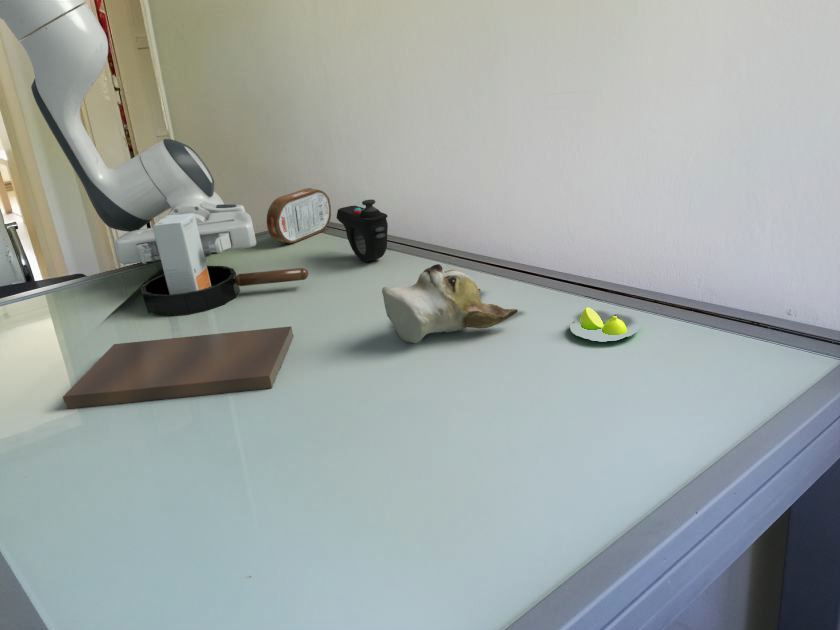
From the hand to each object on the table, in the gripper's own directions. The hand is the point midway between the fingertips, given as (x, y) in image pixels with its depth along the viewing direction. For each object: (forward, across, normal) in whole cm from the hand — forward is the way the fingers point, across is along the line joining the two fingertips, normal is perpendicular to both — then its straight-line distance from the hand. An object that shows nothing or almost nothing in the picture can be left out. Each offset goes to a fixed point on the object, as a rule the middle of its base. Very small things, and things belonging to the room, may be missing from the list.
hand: (180, 253), depth 104 cm
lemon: (+35, +50, +7) cm, 61 cm away
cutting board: (+26, +3, +7) cm, 27 cm away
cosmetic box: (-1, 0, +7) cm, 7 cm away
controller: (-8, +27, +7) cm, 29 cm away
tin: (-28, +17, +7) cm, 34 cm away
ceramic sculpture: (+27, +33, +7) cm, 43 cm away
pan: (0, +5, +7) cm, 9 cm away
